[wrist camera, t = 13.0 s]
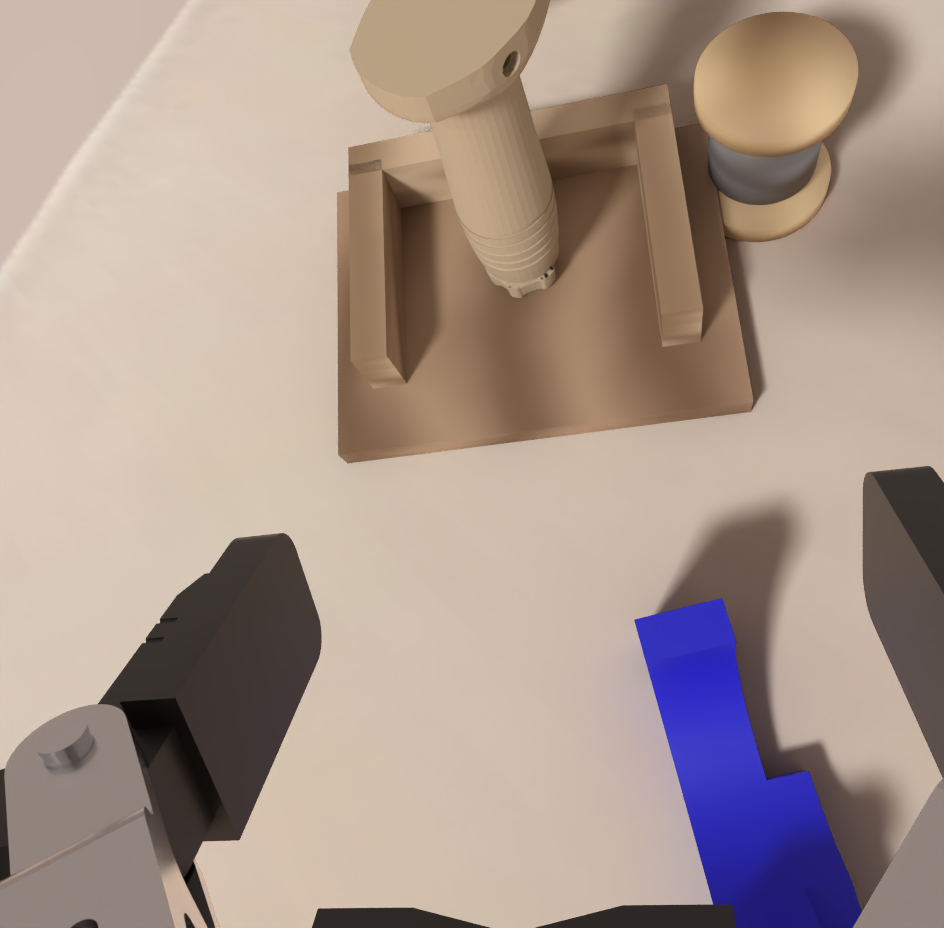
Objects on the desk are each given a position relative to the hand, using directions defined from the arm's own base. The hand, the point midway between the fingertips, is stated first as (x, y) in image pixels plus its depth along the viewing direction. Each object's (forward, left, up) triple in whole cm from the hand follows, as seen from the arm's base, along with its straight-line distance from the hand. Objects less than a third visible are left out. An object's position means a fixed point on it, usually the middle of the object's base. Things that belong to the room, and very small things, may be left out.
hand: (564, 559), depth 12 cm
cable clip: (-4, +4, -24) cm, 25 cm away
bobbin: (-8, -22, -24) cm, 33 cm away
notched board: (+3, -18, -24) cm, 30 cm away
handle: (+3, -19, -23) cm, 29 cm away
